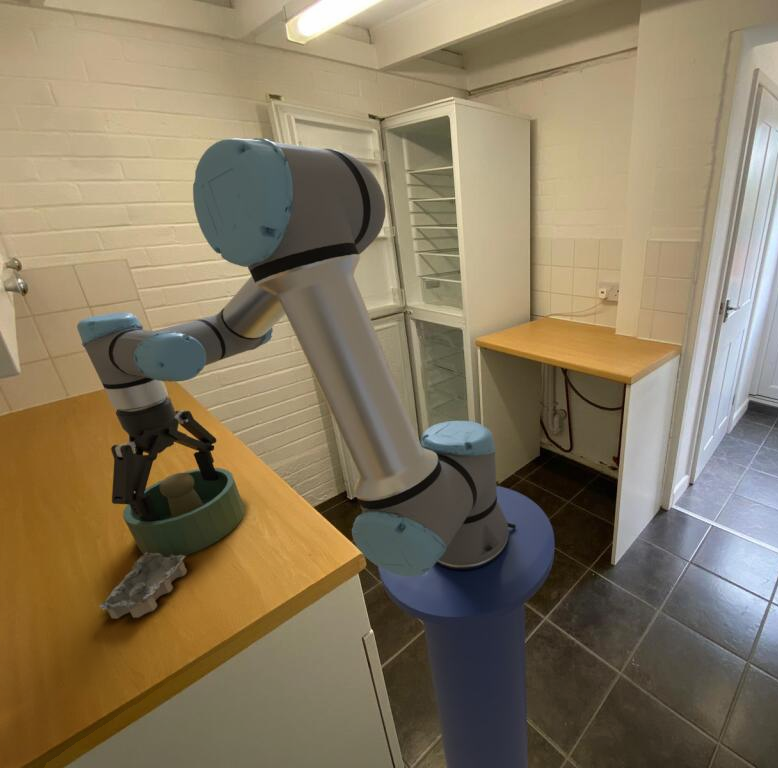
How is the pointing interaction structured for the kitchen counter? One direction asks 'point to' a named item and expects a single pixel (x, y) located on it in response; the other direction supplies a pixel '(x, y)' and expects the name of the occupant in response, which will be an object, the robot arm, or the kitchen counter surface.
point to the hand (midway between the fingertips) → (184, 500)
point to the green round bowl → (189, 517)
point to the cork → (180, 494)
